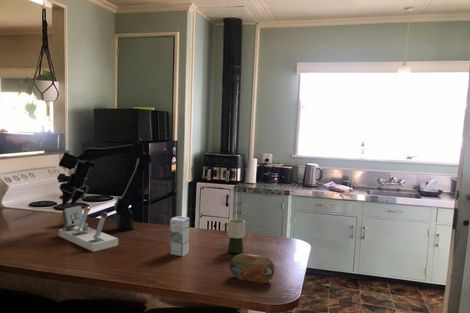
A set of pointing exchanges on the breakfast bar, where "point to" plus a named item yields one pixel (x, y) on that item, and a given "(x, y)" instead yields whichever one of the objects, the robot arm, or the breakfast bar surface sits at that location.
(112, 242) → the control panel
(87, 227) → the push button
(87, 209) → the copper ball joystick
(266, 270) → the tin
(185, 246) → the syrup box
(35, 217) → the breakfast bar surface
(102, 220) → the lever
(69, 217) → the electrical switch
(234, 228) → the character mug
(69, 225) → the block
